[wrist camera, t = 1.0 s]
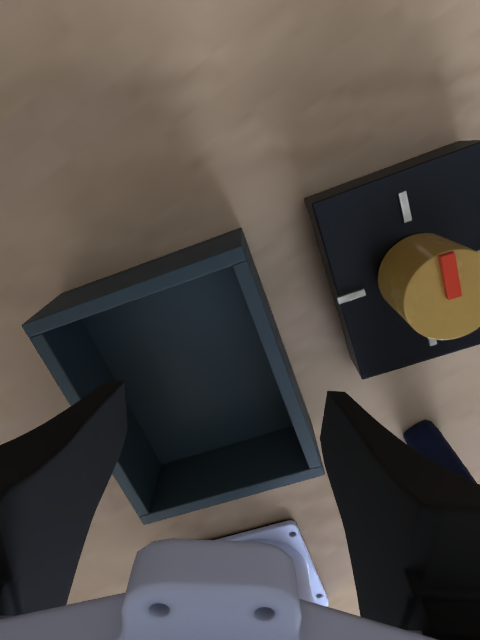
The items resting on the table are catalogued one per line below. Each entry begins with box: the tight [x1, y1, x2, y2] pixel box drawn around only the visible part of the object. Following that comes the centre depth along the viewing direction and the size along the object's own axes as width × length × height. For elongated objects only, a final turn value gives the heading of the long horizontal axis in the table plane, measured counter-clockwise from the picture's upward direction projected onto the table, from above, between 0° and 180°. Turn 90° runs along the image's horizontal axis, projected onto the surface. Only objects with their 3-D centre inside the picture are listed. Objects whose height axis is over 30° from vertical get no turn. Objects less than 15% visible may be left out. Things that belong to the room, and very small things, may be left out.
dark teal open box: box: [22, 228, 325, 525], centre depth 23 cm, size 13×11×5 cm
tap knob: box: [378, 233, 480, 340], centre depth 18 cm, size 4×4×4 cm
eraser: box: [404, 420, 476, 483], centre depth 24 cm, size 2×2×7 cm
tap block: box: [304, 140, 480, 379], centre depth 21 cm, size 10×8×3 cm
